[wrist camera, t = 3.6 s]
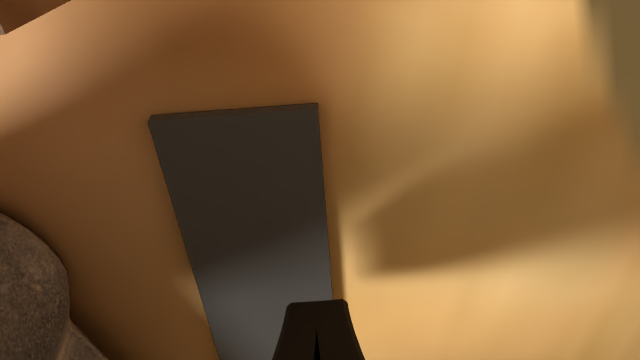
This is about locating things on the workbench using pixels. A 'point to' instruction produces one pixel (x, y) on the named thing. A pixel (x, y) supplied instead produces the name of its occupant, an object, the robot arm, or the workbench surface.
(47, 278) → the pipe
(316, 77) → the workbench surface
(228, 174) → the strip
